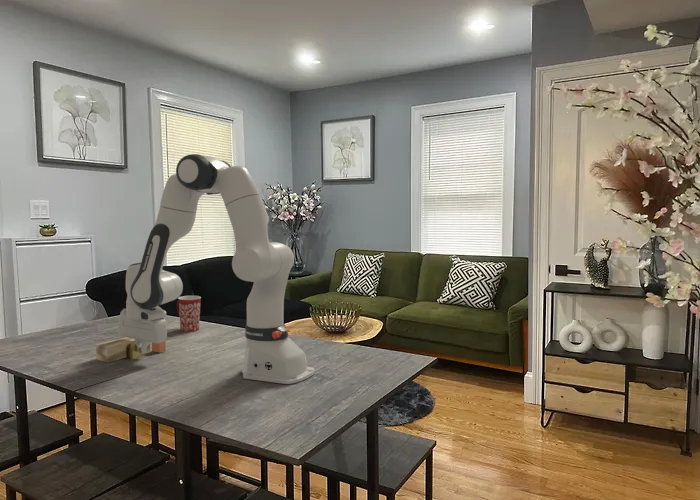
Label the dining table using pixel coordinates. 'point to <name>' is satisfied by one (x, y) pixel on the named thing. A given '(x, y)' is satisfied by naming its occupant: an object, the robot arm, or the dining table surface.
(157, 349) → the orange block
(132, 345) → the pin
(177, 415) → the dining table surface
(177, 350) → the dining table surface
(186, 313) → the mug
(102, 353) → the block
